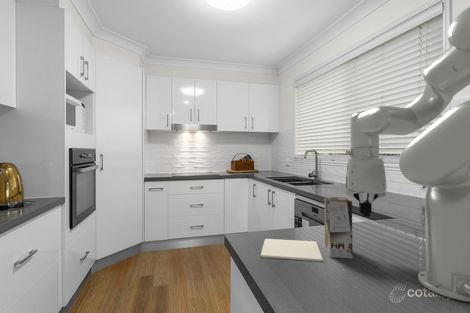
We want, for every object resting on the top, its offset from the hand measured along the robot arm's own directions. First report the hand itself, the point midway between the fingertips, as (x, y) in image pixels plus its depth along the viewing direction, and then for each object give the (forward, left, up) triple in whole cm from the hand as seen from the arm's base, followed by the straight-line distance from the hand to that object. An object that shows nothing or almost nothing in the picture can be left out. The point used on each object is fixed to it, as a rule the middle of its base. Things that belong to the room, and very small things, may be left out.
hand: (365, 215), depth 74 cm
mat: (0, +22, -11) cm, 24 cm away
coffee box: (0, +8, -12) cm, 14 cm away
